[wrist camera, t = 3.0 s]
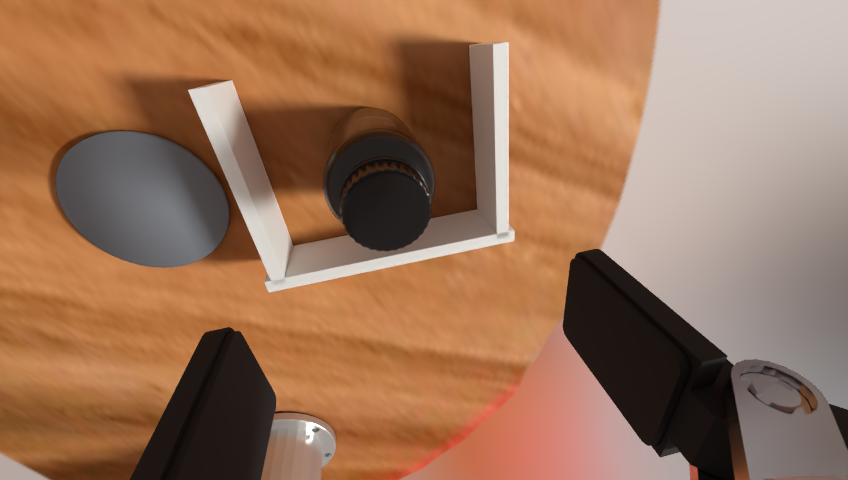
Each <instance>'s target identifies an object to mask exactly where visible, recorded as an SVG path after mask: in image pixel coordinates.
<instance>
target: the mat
mask: <svg viewBox="0 0 848 480" xmlns="http://www.w3.org/2000/svg"><path fill="white" fill-rule="evenodd" d="M56 192H57V196H58V200H59V203H60V205H61V207H62V209H63V211H64V213H65V215H66V216H67V218H68V219H69V221H70V222H71V223H72V225H73V226H74V227H75V228H76V229H77V230H78V231H79V232H80V233H81V234H82V235H83V236H84V237H85V238H86V239H87V240H89V241H90V242H91V243H92V244H94V245H95V246H97V247H98V248H100V249H101V250H103V251H105V252H107V253H109V254H111V255H113V256H115V257H117V258H120V259H122V260H125V261H128V262H131V263H135V264H139V265H143V266H150V267H162V268H164V267H177V266H183V265H187V264H191V263H193V262H196V261H199V260H200V259H202V258H204V257H206V256H207V255H209V254H210V253H211V252H212V251H213V250H214V249H215V248H216V247H217V246H218V245H219V243H220V242H221V241H222V239H223V238H224V236H225V234H226V232H227V229H228V226H229V221H230V207H229V202H228V198H227V195H226V192H225V190H224V188H223V186H222V184H221V182H220V181H219V179H218V178H217V176H216V175H215V174H214V172H213V171H212V170H211V169H210V168H209V167H208V166H207V165H206V164H205V163H204V162H203V161H202V160H201V159H200V158H199V157H197V156H196V155H195V154H193V153H192V152H191V151H189V150H187V149H186V148H184V147H182V146H181V145H179V144H177V143H175V142H173V141H171V140H168V139H166V138H163V137H160V136H157V135H153V134H149V133H145V132H139V131H125V130H120V131H110V132H105V133H101V134H97V135H94V136H92V137H89V138H87V139H84V140H82V141H81V142H79V143H77V144H76V145H74V146H73V147H72V148H71V149H70V150H69V151H68V152H67V153H66V154H65V155H64V157H63V158H62V160H61V162H60V164H59V166H58V169H57V173H56Z"/></svg>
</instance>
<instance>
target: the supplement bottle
mask: <svg viewBox="0 0 848 480" xmlns="http://www.w3.org/2000/svg"><path fill="white" fill-rule="evenodd" d="M323 189H324V195H325V199H326V201H327V204H328V206H329V208H330V210H331V211H332V213H333V214H334V216H335V217H336V218H337V219H338V220H339V221H340V222H341V223H342V224H343V225H344V227H345V230H346V231H347V232H348V233H349V236H350V237H351V238H353V239H354V240H355V242H356V243H359V244H361V246H363V247H367V248H369V249H370V250H377V251H387V252H388V251H391V250H398V249H399V248H404V247H406V246H407V245H410V244H412V243H413V241H415V240H417V239H418V238H419V236H420V235H422V234H423V233H424V229H426V228H427V227H428V222H429V221H430V214H431V212H432V209H431V202H432V200H433V196H434V192H435V174H434V170H433V166H432V164H431V161H430V159H429V157H428V156H427V154H426V153H425V151H424V150H423V148H422V147H421V145H420V144H419V142H418V141H417V140H416V138H415V137H414V136H413V134H412V133H411V131H410V130H409V129H408V127H407V126H406V125H405V124H404V123H403V122H402V121H401V120H400V119H399V118H398V117H397V116H395V115H394V114H392V113H390V112H388V111H386V110H383V109H378V108H362V109H358V110H355V111H353V112H351V113H349V114H348V115H346V116H345V117H343V118H342V119H341V120H340V121H339V122H338V124H337V125H336V126H335V128H334V130H333V132H332V134H331V137H330V140H329V144H328V150H327V157H326V163H325V169H324V176H323Z"/></svg>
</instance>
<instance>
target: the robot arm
mask: <svg viewBox="0 0 848 480" xmlns="http://www.w3.org/2000/svg"><path fill="white" fill-rule="evenodd" d="M563 330H564V333H565V335H566V337H567V339H568V340H569V341H570V343H571V344H572V346H573V347H574V348H575V350H576V351H577V353H578V354H579V355H580V357H581V358H582V360H583V361H584V362H585V364H586V365H587V366H588V368H589V369H590V371H591V372H592V373H593V375H594V376H595V377H596V379H597V380H598V381H599V383H600V384H601V386H602V387H603V388H604V390H605V391H606V393H607V394H608V395H609V396H610V398H611V399H612V401H613V402H614V403H615V405H616V406H617V408H618V409H619V410H620V412H621V413H622V415H623V416H624V417H625V419H626V420H627V421H628V423H629V424H630V425H631V427H632V428H633V430H634V431H635V432H636V434H637V435H638V436H639V438H640V439H641V440H642V442H644V443H645V444H646V445H648V446H650V445H651V446H652V447H653V449H654V450H655V451H656V453H657V454H658V455H659V456H660V457H663V456H667V455H671V454H674V453H678V452H681V453H682V455H683V456H684V457H685V458H686V460H687V461H688V462H689V465H690V480H848V410H846V409H844V408H840V407H837V406H834V405H831V404H828V402H827V400H826V399H825V397H824V396H823V394H822V392H821V391H820V390H819V389H817V387H816V386H815V385H813V384H812V383H811V382H810V381H809V380H807V379H806V378H804V377H803V376H801V375H799V374H798V373H796V372H794V371H792V370H790V369H788V368H786V367H784V366H781V365H778V364H775V363H772V362H769V361H762V360H757V359H756V360H755V359H754V360H744V361H741V362H738V363H736V364H735V365H733V364H732V363H730V362H729V361H728V360H727V359H726V358H727V355H726V354H724V353H723V352H722V351H721V350H720V349H719V348H717V347H716V346H715V345H714V344H713V343H711V342H710V341H709V340H708V339H706V338H705V337H704V336H703V335H702V334H701V333H699V332H698V331H697V330H696V329H695V328H693V327H692V326H691V325H690V324H689V323H687V322H686V321H685V320H684V319H683V318H681V317H680V316H679V315H678V314H677V313H675V312H674V311H673V310H672V309H671V308H670V307H668V306H667V305H666V304H665V303H664V302H662V301H661V300H660V299H659V298H658V297H656V296H655V295H654V294H653V293H651V292H650V291H649V290H648V289H647V288H645V287H644V286H643V285H642V284H641V283H640V282H638V281H637V280H636V279H635V278H634V277H632V276H631V275H630V274H629V273H628V272H626V271H625V270H624V269H623V268H622V267H621V266H619V265H618V264H617V263H616V262H615V261H613V260H612V259H611V258H610V257H609V256H607V255H606V254H605V253H604V252H603V251H601V250H599V249H593V250H589V251H584V252H579V253H577V254H576V256H575V259H572V260H571V263H570V270H569V278H568V286H567V295H566V303H565V311H564V320H563ZM275 409H276V396H275V393H274V391H273V389H272V387H271V385H270V384H269V382H268V380H267V378H266V376H265V375H264V373H263V371H262V369H261V367H260V366H259V364H258V362H257V360H256V358H255V357H254V355H253V353H252V351H251V349H250V348H249V346H248V344H247V342H246V340H245V339H244V337H243V335H242V334H241V332H239V331H234V330H233V329H232V328H230V327H228V328H223V329H218V330H214V331H209V332H206V333H204V335H203V336H202V338H201V340H200V342H199V344H198V346H197V348H196V350H195V352H194V354H193V356H192V358H191V360H190V362H189V364H188V366H187V368H186V370H185V372H184V373H183V375H182V377H181V379H180V381H179V383H178V385H177V387H176V389H175V391H174V393H173V395H172V397H171V399H170V401H169V403H168V405H167V407H166V409H165V411H164V413H163V415H162V417H161V419H160V421H159V423H158V425H157V427H156V429H155V431H154V433H153V435H152V437H151V439H150V441H149V443H148V445H147V447H146V449H145V451H144V453H143V455H142V457H141V459H140V461H139V463H138V465H137V467H136V469H135V471H134V473H133V475H132V477H131V479H130V480H321V472H322V468H323V467H324V466H325V465H326V464H327V463H328V462H329V461H330V460H331V458H332V457H333V455H334V453H335V449H336V436H335V433H334V431H333V430H332V428H331V427H330V426H329V425H328V424H327V423H325V422H324V421H322V420H320V419H318V418H316V417H313V416H310V415H306V414H300V413H276V414H275Z"/></svg>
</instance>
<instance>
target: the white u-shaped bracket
mask: <svg viewBox="0 0 848 480" xmlns="http://www.w3.org/2000/svg"><path fill="white" fill-rule="evenodd" d="M469 57H470V76H471V96H472V116H473V135H474V155H475V175H476V194H477V209H476V210H471V211H466V212H461V213H456V214H451V215H446V216H441V217H436V218H431V219H430V221H429V222H428V227H427V228H426V229H424V233H423V234H422V235H420V236H419V238H418V239H417V240H415V241H413V243H412V244H410V245H407V246H406V247H404V248H399V249H398V250H391V251H388V252H387V251H377V250H370V249H369V248H367V247H363V246H361V244H359V243H356V242H355V240H354V239H353V238H351V237H350V236H349V235H345V236H340V237H335V238H330V239H325V240H320V241H315V242H310V243H305V244H300V245H295V246H293V243H292V241H291V238H290V235H289V232H288V230H287V227H286V224H285V222H284V219H283V216H282V214H281V211H280V208H279V205H278V203H277V200H276V197H275V195H274V192H273V189H272V187H271V184H270V181H269V178H268V176H267V173H266V170H265V168H264V165H263V162H262V160H261V157H260V154H259V151H258V149H257V146H256V143H255V141H254V138H253V135H252V133H251V130H250V127H249V125H248V122H247V119H246V116H245V114H244V111H243V108H242V106H241V103H240V100H239V98H238V95H237V92H236V89H235V87H234V84H233V81H232V80H230V81H223V82H217V83H213V84H209V85H205V86H201V87H197V88H193V89H190V90H188V92H189V94H190V96H191V98H192V101H193V103H194V105H195V108H196V110H197V112H198V115H199V117H200V119H201V121H202V124H203V126H204V128H205V131H206V133H207V135H208V137H209V140H210V142H211V144H212V147H213V149H214V151H215V154H216V156H217V158H218V160H219V163H220V165H221V167H222V170H223V172H224V174H225V176H226V179H227V181H228V183H229V186H230V188H231V190H232V193H233V195H234V197H235V199H236V202H237V204H238V206H239V209H240V211H241V213H242V215H243V218H244V220H245V222H246V225H247V227H248V229H249V232H250V234H251V236H252V238H253V241H254V243H255V245H256V248H257V250H258V252H259V255H260V257H261V259H262V261H263V264H264V266H265V268H266V271H267V276H266V279H265V282H264V283H265V285H266V287H267V289H268V292H274V291H278V290H283V289H288V288H293V287H297V286H302V285H307V284H312V283H316V282H321V281H326V280H331V279H335V278H340V277H345V276H350V275H354V274H359V273H364V272H369V271H373V270H378V269H383V268H388V267H392V266H397V265H402V264H407V263H411V262H416V261H421V260H426V259H430V258H435V257H440V256H445V255H449V254H454V253H459V252H464V251H468V250H473V249H478V248H483V247H487V246H492V245H497V244H502V243H506V242H511V241H514V229H513V228H512V227H511V226H510V225H509V42H495V43H479V44H472V45H469Z"/></svg>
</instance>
